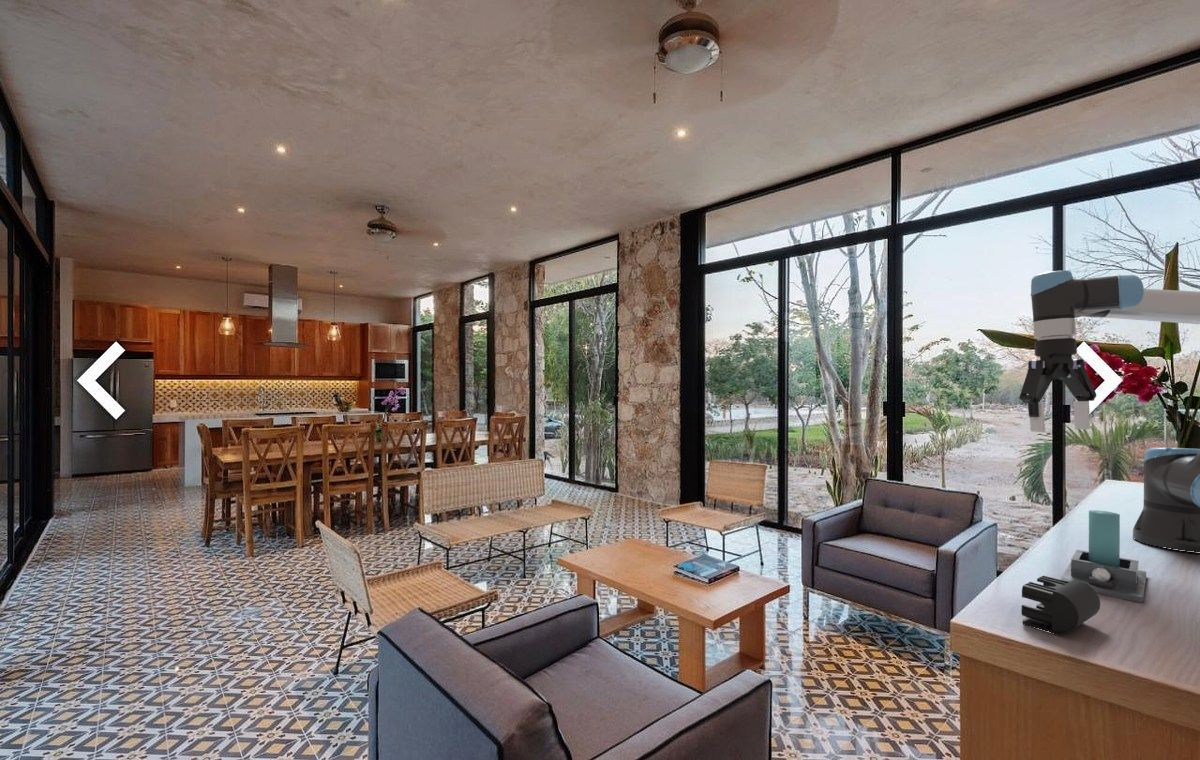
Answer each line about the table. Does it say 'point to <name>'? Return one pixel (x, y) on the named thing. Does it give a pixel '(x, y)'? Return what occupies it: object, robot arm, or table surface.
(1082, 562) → the stand
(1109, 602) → the table surface
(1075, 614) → the end cap
